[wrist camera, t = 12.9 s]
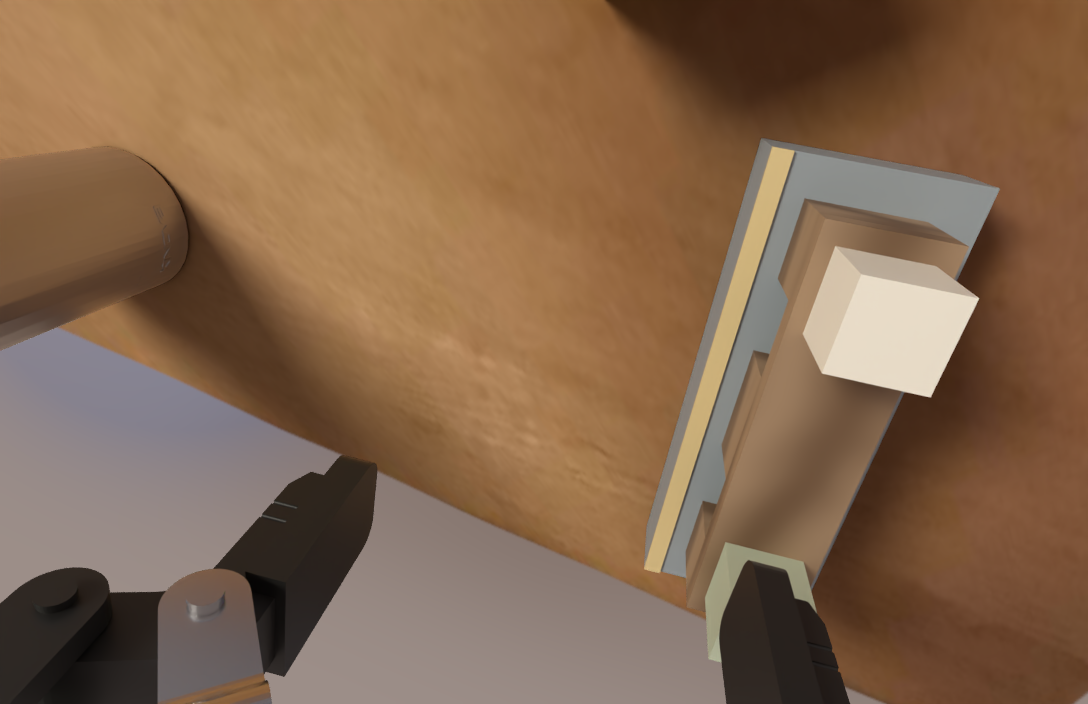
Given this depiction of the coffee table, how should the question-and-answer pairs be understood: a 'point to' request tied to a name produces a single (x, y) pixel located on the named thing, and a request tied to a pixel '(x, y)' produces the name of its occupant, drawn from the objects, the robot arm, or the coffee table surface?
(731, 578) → the block
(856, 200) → the slate dock
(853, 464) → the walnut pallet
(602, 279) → the coffee table surface
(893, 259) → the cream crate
